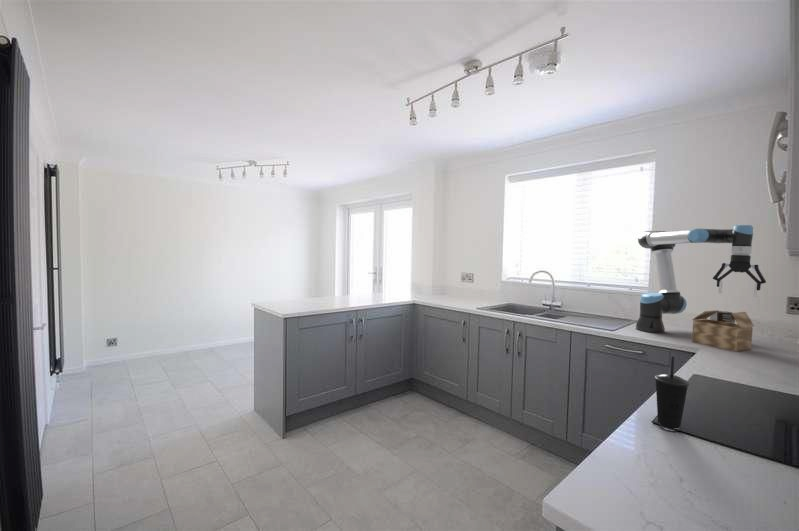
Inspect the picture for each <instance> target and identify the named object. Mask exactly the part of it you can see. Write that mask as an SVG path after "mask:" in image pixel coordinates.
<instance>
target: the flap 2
mask: <svg viewBox="0 0 799 531" xmlns="http://www.w3.org/2000/svg"><path fill="white" fill-rule="evenodd" d="M731 314H732V315H733V317H734V319H735V323H736V324H738V325H739V327H740V328H747V327H753V328H754V327H755V325H754V323H753V321H752V319H751V318H750V317H749V315H748V313H747V312H746V311H741V312H732V313H731Z"/></svg>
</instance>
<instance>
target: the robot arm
mask: <svg viewBox="0 0 799 531" xmlns="http://www.w3.org/2000/svg"><path fill="white" fill-rule="evenodd" d="M753 236H754V226H753V225H751V224H736V225H733V227H732V228H731V229H728V228H727V229H717V228H716V229H715V228H693V229H684V230H672V231H665V230H662V231H661V230H659V231H657V230H645V231H642V232H641V233H640V234H639V235H638V238H637V242H638V245H639V246H641V247H642V248H645V249H649V250H650V251H651V253H652V254H653V255H654V257H655V258H654V259H655V264H656V265H655V266H656V273H657V279H658V280H657V281H658V285H659V286H658V287H659V291H658V292H646V293H643V294H641V296H640V300H639V302H640V303H639V317H638V320H637V321H636V324H635V329H636V330H637V329H638V331H641V330H642V332H646V331H648V333H654V332H658V333H657V334H660V333H661V334H663V333H662V332H664V333H665V331H666V328H665V325H664V322H663V315H676V314H677V315H678V314H681V313H683V312H684V311H685V310H686V308H687V305H688V304H687V300H686V298H685V297H684V296H682V295H681V291H679V290H678V289H677V284H676V278H675V277H676V276H675V272H674V270H675V269H674V265H673V264H674V263H673V257H672V252H673V251H674V248H675V247H676V245H677V244H678V245H679V244H699V243H700V244H701V243H705V244H706V243H708V244H731V250H730V253H731V255H730V263H726V262H723V263H722V264H721V267H720V268H719V269H718V271H717V272H716V274H715V275H713V277H712V279H713V280H715V281H716V287H717V288H718V294H722V293H723V279H724V278H726V277H727V276H728V275H730V274H731V273H733V272H734V273H746V274H747V275H748V276H749V277H750V278H751V279H752V280H753V281H754V282H755V283H754V288H753V291H754V292H753V297H754V298H756V297H757V296H758V291H761V287H762V284H766V283H767V281H766V279H765V277H764V276H763V273H762V272H761V270H760V268H759V266H760V265H759V264H751V258H752V256H751V254H752V244H753V238H754V237H753ZM728 267H729V268H730V269H728V270H727V271H726V272H725V273H724V274H722V272H724V270H725V268H728ZM751 268H752V269H753V270H754V271H755V273H756V274H757V276H758V277H759V279H760V280H759V279H758V278H757V277H756V276H755V274H754V273H752V272H751V270H749V269H751ZM721 274H722V275H721ZM720 275H721V276H720Z"/></svg>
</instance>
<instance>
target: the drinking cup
mask: <svg viewBox="0 0 799 531" xmlns="http://www.w3.org/2000/svg"><path fill="white" fill-rule="evenodd" d="M674 369H675V356H671V358H670V372H669V373H662V374H655V376H654V380H655V391H656V392H655V393H656V395H655V396H656V410H657V423H658V422H659V423H660V424H661V425H663V426H665V427H668V428H679V427H680V428H681V426H682V419H683V414H684V410H685V405H686V404H685V403H686V399H687V392H688V387H689V386H690V382H689V381H688V380H686V379H684V377H683V378H682V377H681V376H678V375H675V374H674V371H675V370H674Z"/></svg>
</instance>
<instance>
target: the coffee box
mask: <svg viewBox="0 0 799 531" xmlns="http://www.w3.org/2000/svg"><path fill="white" fill-rule="evenodd" d="M731 313H733V312H731V311H724V310H718V312H716V313H714V314H713V315H711V316H710V317H709V320H714V321H721V322H727V323H733V324H736V320H735V319H734V317H733V315H732V314H731Z"/></svg>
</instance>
